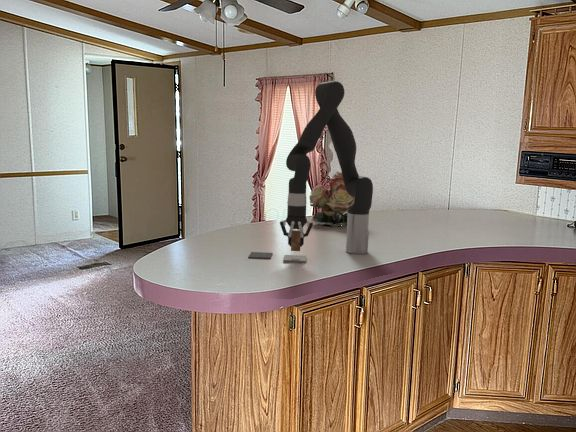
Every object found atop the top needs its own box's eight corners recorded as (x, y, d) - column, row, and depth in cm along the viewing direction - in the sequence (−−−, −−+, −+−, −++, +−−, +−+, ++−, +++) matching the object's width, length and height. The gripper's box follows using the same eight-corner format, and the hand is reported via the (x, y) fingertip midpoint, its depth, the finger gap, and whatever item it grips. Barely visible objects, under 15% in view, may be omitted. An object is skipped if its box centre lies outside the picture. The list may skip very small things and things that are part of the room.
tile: (306, 255, 217) (305, 260, 208) (306, 259, 218) (305, 264, 209) (284, 254, 218) (283, 260, 209) (284, 258, 218) (283, 263, 209)
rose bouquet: (302, 221, 310) (304, 169, 306) (345, 218, 323) (347, 169, 318) (324, 228, 287) (326, 173, 283) (369, 226, 300) (371, 173, 295)
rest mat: (272, 254, 223) (272, 252, 223) (270, 259, 214) (270, 257, 214) (251, 253, 224) (251, 251, 224) (248, 258, 215) (248, 256, 215)
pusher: (300, 249, 216) (300, 230, 214) (299, 251, 212) (300, 231, 211) (291, 249, 216) (292, 229, 215) (290, 250, 212) (291, 231, 211)
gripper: (314, 203, 214) (313, 244, 217) (280, 202, 215) (279, 243, 218) (314, 205, 207) (313, 248, 210) (278, 204, 208) (277, 247, 211)
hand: (295, 245), depth 214 cm, fingers closed on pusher, 3 cm apart
